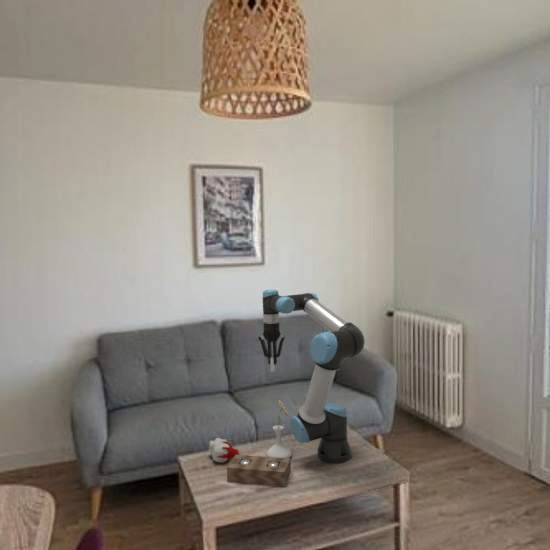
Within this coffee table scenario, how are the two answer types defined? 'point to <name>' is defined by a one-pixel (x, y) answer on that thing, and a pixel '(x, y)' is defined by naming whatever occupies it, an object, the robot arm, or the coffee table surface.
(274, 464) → the steel peg
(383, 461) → the coffee table surface
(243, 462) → the steel peg
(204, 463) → the coffee table surface
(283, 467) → the walnut block
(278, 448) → the flower in vase
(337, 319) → the robot arm
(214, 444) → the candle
